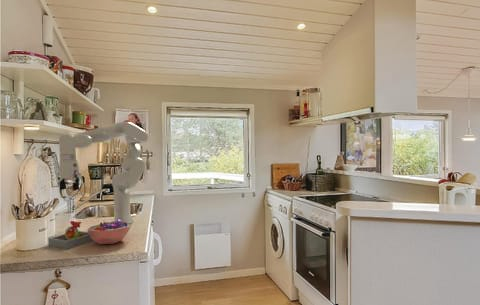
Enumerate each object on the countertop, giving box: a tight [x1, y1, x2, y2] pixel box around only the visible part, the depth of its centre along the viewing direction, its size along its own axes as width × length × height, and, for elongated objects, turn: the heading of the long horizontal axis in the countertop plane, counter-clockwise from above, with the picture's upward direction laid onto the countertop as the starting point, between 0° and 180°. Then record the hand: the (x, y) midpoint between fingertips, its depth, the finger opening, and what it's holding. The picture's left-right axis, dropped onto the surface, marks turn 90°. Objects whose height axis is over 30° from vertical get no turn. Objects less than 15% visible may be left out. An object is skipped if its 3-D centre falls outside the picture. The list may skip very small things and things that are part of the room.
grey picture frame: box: [47, 230, 94, 250], centre depth 147 cm, size 15×13×4 cm
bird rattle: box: [64, 220, 84, 241], centre depth 147 cm, size 6×11×9 cm
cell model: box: [87, 219, 132, 245], centre depth 146 cm, size 17×20×11 cm
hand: (69, 189), depth 159 cm, fingers open, 9 cm apart
